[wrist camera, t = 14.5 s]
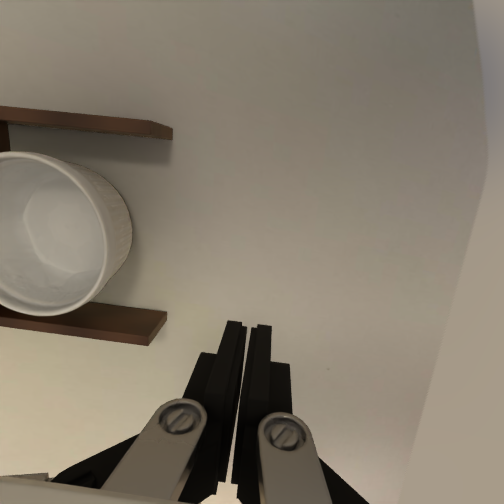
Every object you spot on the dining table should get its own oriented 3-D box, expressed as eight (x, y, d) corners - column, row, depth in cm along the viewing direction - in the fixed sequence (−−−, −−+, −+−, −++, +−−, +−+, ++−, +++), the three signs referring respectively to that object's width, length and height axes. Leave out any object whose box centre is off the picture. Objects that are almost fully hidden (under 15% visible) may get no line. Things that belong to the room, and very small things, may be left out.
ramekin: (69, 122, 29) (6, 109, 22) (173, 229, 31) (143, 247, 24) (-10, 219, 32) (-86, 233, 25) (88, 310, 34) (41, 346, 27)
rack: (172, 128, 28) (151, 120, 23) (167, 320, 33) (148, 346, 28) (-131, 98, 30) (-211, 85, 25) (-92, 286, 35) (-152, 306, 30)
